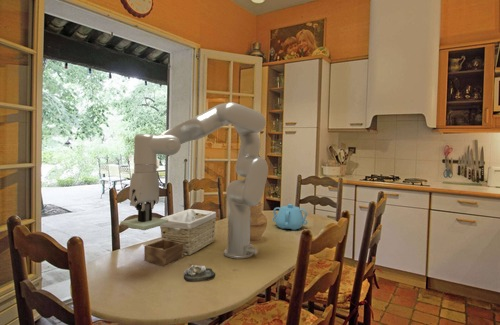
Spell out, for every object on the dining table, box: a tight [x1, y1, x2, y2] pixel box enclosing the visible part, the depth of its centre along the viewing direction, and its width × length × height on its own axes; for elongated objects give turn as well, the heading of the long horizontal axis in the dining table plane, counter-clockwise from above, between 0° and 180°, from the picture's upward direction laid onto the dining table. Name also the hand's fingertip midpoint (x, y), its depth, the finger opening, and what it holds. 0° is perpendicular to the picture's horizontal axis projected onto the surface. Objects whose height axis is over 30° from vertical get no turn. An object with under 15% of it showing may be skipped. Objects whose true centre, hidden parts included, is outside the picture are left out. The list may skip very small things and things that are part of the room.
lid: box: [120, 202, 168, 231], centre depth 114 cm, size 11×11×8 cm
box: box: [143, 239, 184, 267], centre depth 129 cm, size 11×11×6 cm
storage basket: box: [159, 208, 217, 256], centre depth 145 cm, size 24×16×15 cm
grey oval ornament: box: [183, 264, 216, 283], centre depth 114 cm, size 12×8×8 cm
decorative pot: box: [272, 203, 308, 231], centre depth 182 cm, size 16×16×14 cm
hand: (144, 220), depth 114 cm, fingers closed on lid
